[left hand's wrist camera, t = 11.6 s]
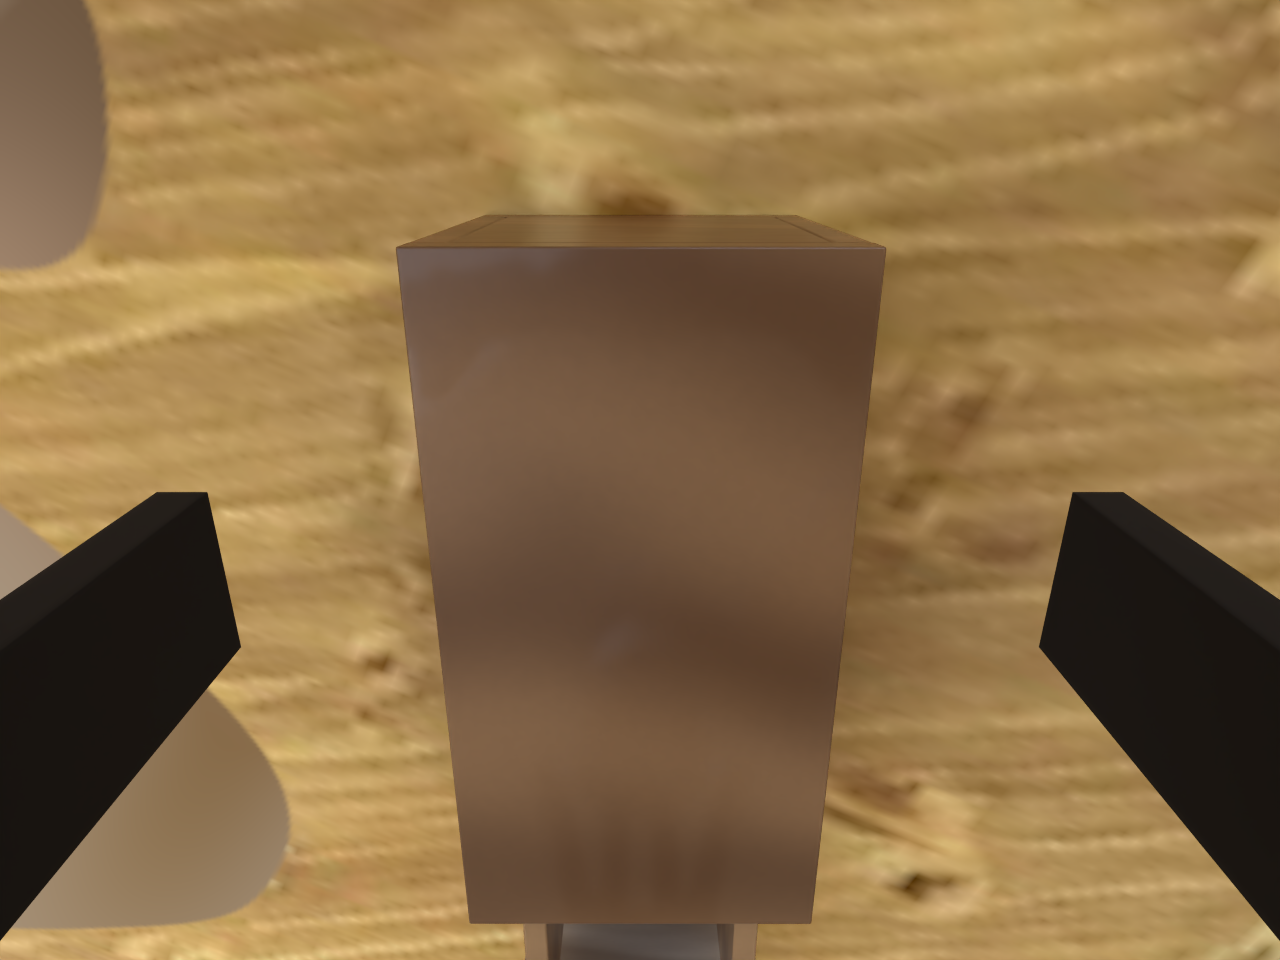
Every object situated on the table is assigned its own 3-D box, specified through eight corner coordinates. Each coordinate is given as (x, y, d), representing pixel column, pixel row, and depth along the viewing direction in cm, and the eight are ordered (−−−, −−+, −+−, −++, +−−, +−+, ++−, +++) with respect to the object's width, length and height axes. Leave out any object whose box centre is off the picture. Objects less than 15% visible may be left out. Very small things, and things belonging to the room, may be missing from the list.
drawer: (735, 980, 40) (760, 1186, 32) (544, 980, 40) (520, 1186, 32) (766, 516, 30) (811, 644, 22) (514, 516, 30) (470, 644, 22)
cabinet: (763, 709, 35) (811, 924, 25) (517, 709, 35) (469, 924, 25) (798, 215, 27) (887, 247, 17) (483, 214, 27) (394, 246, 17)
